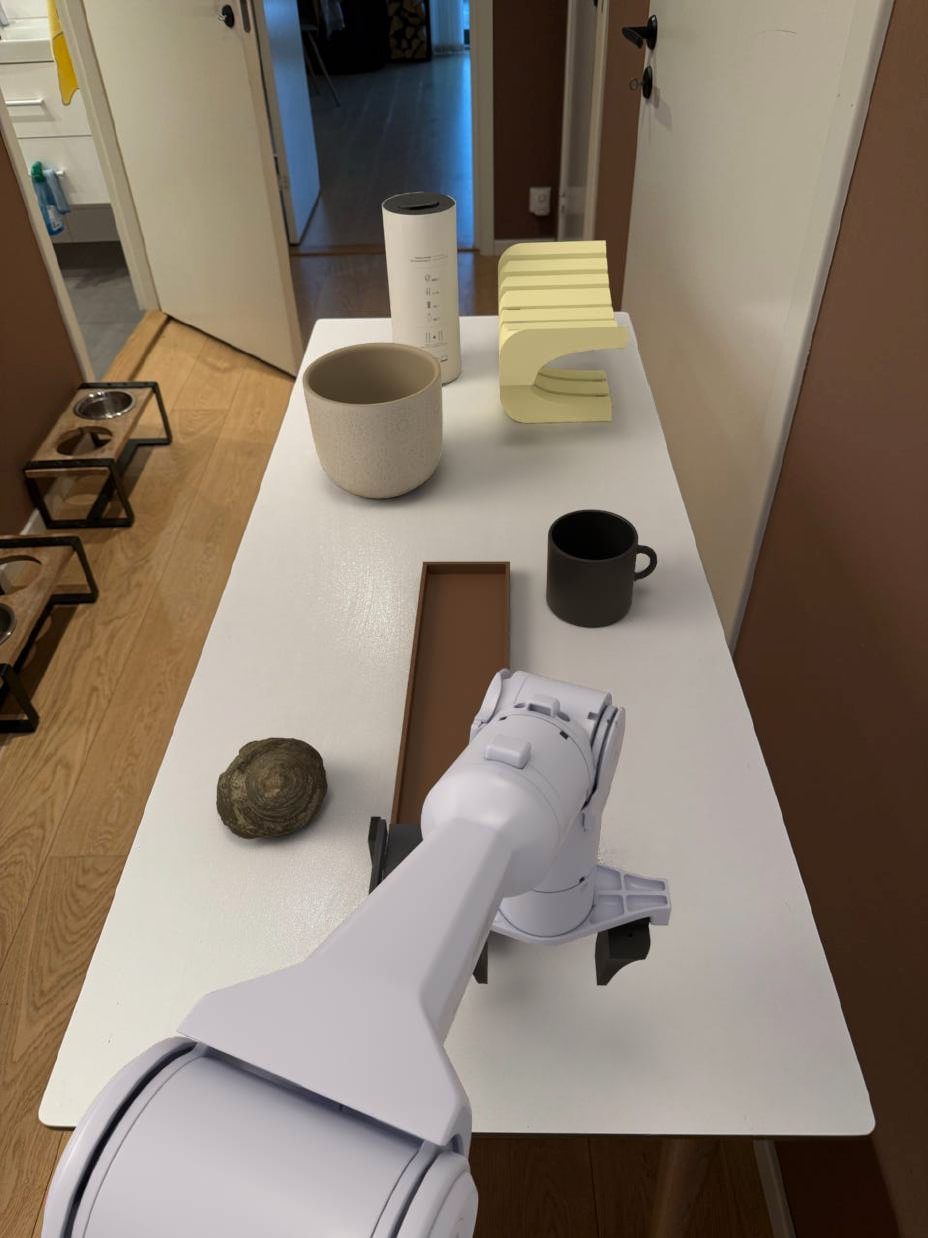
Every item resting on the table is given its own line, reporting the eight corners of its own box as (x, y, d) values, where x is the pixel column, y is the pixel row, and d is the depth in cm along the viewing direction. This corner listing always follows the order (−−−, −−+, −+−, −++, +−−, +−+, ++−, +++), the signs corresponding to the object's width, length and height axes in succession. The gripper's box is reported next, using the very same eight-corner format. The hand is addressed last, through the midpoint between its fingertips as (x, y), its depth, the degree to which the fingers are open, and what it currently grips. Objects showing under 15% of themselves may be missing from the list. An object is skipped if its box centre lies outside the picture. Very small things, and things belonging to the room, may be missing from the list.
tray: (507, 865, 78) (507, 851, 76) (388, 862, 78) (386, 849, 77) (510, 574, 107) (510, 561, 105) (424, 574, 107) (422, 561, 106)
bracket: (522, 872, 77) (522, 842, 74) (372, 869, 78) (367, 840, 75) (522, 848, 79) (522, 818, 76) (375, 845, 79) (370, 816, 77)
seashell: (186, 839, 73) (311, 832, 73) (189, 693, 77) (310, 686, 76) (226, 844, 84) (335, 837, 84) (228, 716, 87) (333, 710, 87)
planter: (407, 527, 114) (396, 417, 104) (294, 496, 121) (274, 389, 110) (469, 460, 125) (465, 355, 115) (363, 434, 132) (350, 333, 122)
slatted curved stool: (499, 356, 149) (497, 243, 137) (598, 353, 148) (605, 240, 136) (500, 454, 126) (499, 329, 115) (617, 451, 126) (628, 326, 114)
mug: (663, 622, 99) (673, 556, 93) (553, 632, 99) (555, 565, 93) (643, 568, 107) (650, 503, 101) (540, 577, 106) (541, 512, 100)
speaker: (460, 356, 149) (453, 185, 132) (465, 386, 141) (458, 208, 124) (395, 360, 149) (379, 189, 132) (396, 391, 141) (379, 213, 124)
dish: (510, 1000, 66) (510, 974, 63) (360, 996, 66) (354, 970, 64) (511, 829, 77) (511, 801, 74) (382, 827, 77) (378, 799, 75)
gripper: (669, 790, 54) (647, 915, 63) (420, 789, 54) (434, 913, 63) (686, 898, 48) (659, 1018, 57) (411, 895, 49) (427, 1014, 58)
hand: (541, 970), depth 60 cm, fingers open, 7 cm apart
